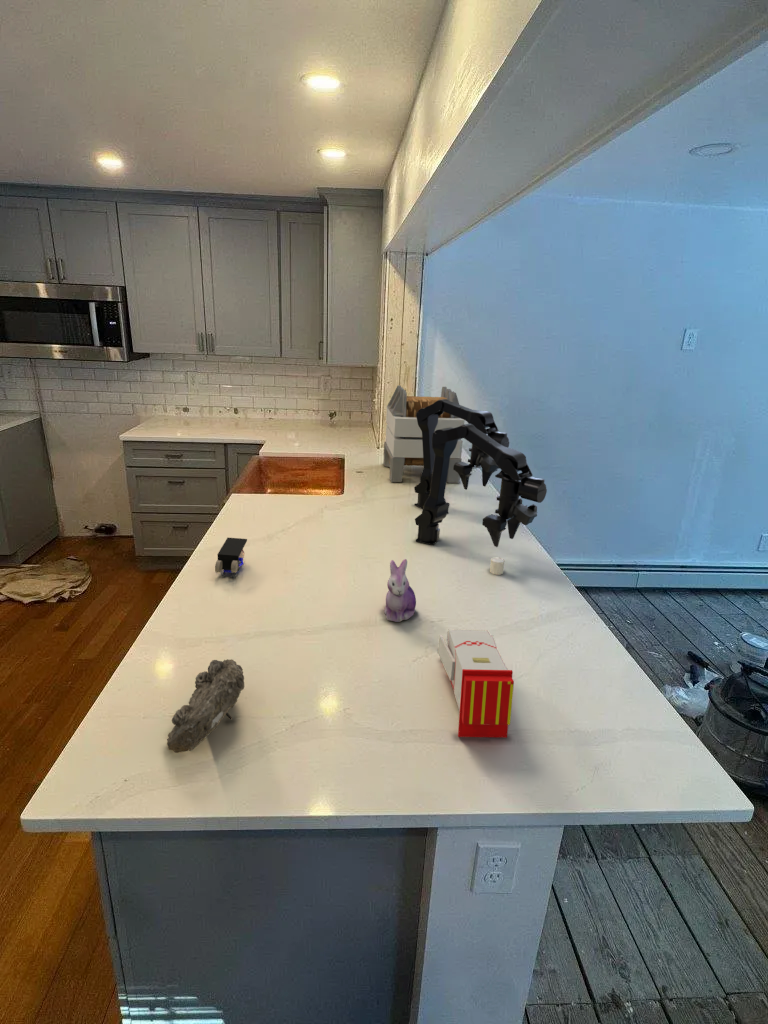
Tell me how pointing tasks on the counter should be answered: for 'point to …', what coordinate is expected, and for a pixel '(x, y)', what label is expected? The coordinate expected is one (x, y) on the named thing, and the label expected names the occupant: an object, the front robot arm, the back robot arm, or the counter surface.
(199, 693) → the fossil
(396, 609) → the figurine
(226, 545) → the black toy vehicle
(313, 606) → the counter surface
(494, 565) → the can
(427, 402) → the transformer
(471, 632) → the toy
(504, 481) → the front robot arm
